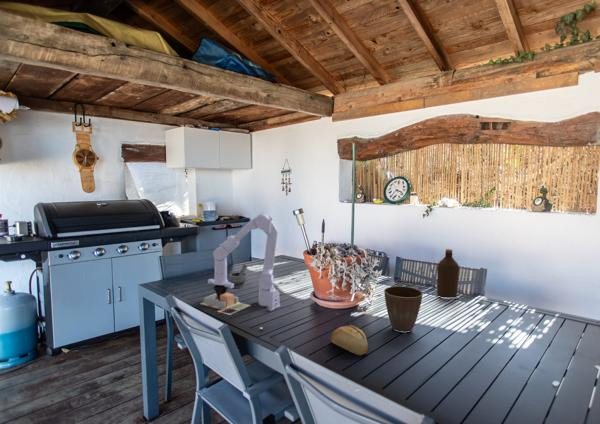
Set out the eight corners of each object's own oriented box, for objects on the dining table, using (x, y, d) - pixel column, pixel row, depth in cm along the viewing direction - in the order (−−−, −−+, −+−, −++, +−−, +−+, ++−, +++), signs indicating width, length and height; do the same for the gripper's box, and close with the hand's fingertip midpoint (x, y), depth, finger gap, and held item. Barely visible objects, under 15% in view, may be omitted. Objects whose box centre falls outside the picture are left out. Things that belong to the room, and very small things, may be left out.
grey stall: (238, 302, 177) (238, 297, 177) (224, 308, 169) (224, 302, 168) (218, 297, 183) (217, 292, 183) (203, 303, 175) (203, 297, 175)
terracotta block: (233, 303, 175) (233, 294, 175) (227, 306, 171) (227, 296, 171) (226, 301, 177) (226, 292, 177) (219, 304, 173) (220, 295, 173)
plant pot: (394, 339, 142) (396, 298, 140) (376, 324, 156) (377, 287, 155) (428, 335, 146) (430, 296, 144) (407, 321, 160) (409, 285, 159)
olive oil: (451, 301, 186) (453, 252, 184) (431, 296, 195) (434, 249, 192) (461, 297, 193) (464, 250, 191) (442, 292, 201) (444, 247, 199)
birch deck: (251, 308, 173) (251, 305, 173) (229, 318, 161) (229, 314, 161) (216, 300, 184) (216, 297, 184) (194, 308, 172) (194, 305, 172)
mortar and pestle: (236, 290, 201) (236, 268, 200) (226, 286, 207) (225, 265, 206) (252, 286, 209) (252, 265, 208) (242, 282, 215) (242, 262, 214)
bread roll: (340, 338, 143) (341, 318, 142) (374, 351, 133) (375, 329, 132) (324, 346, 136) (325, 325, 135) (358, 360, 126) (359, 337, 125)
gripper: (238, 272, 175) (238, 300, 176) (215, 268, 182) (215, 295, 183) (228, 276, 168) (228, 305, 170) (204, 271, 176) (205, 299, 177)
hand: (220, 300), depth 176 cm, fingers closed
